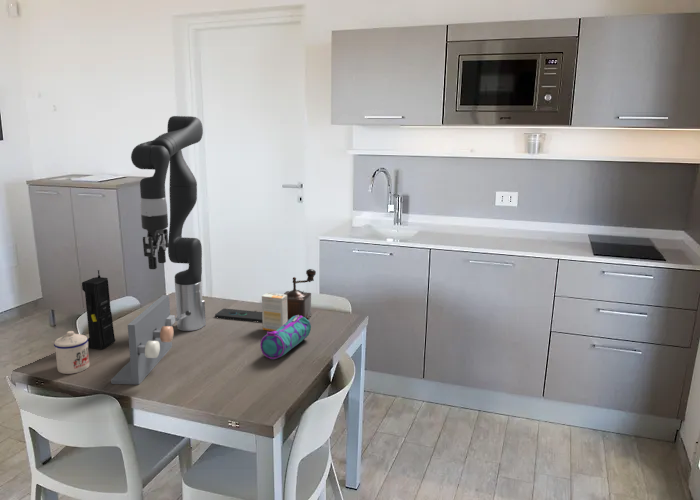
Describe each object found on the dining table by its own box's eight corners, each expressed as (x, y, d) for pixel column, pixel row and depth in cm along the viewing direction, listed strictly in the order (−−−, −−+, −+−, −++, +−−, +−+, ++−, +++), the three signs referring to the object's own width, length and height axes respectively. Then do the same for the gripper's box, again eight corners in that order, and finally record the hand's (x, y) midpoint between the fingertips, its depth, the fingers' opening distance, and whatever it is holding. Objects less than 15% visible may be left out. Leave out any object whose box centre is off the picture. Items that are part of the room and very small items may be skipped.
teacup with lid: (78, 375, 159) (74, 338, 156) (50, 373, 160) (45, 336, 157) (102, 358, 170) (98, 323, 168) (75, 356, 171) (71, 322, 169)
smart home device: (223, 307, 216) (271, 312, 211) (223, 311, 216) (271, 316, 212) (214, 314, 208) (263, 319, 204) (214, 318, 208) (263, 323, 204)
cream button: (160, 353, 157) (159, 338, 156) (153, 360, 152) (152, 344, 151) (136, 353, 157) (135, 337, 156) (129, 360, 152) (128, 344, 151)
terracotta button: (173, 338, 168) (173, 323, 167) (168, 344, 163) (167, 329, 162) (151, 337, 168) (150, 323, 167) (145, 344, 163) (144, 329, 162)
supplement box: (288, 328, 198) (288, 294, 196) (282, 333, 194) (282, 298, 191) (268, 325, 201) (267, 291, 198) (262, 329, 197) (261, 295, 194)
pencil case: (288, 336, 192) (288, 310, 190) (311, 340, 189) (311, 313, 186) (259, 359, 173) (258, 330, 171) (283, 363, 170) (283, 335, 167)
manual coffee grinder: (305, 324, 202) (305, 278, 198) (277, 321, 205) (276, 276, 201) (317, 311, 217) (317, 268, 213) (291, 308, 220) (291, 266, 216)
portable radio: (101, 351, 176) (95, 277, 170) (85, 349, 177) (78, 275, 171) (116, 341, 183) (110, 270, 178) (100, 340, 185) (94, 269, 179)
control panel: (176, 346, 180) (173, 295, 176) (144, 384, 154) (140, 325, 150) (148, 346, 181) (144, 294, 177) (111, 383, 154) (106, 324, 150)
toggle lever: (192, 313, 176) (189, 308, 176) (191, 315, 175) (188, 310, 174) (177, 321, 177) (174, 316, 177) (175, 323, 175) (172, 318, 175)
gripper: (151, 208, 170) (154, 260, 174) (131, 216, 156) (135, 271, 160) (174, 209, 170) (177, 260, 174) (157, 216, 156) (161, 272, 160)
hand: (157, 265), depth 167 cm, fingers open, 7 cm apart
